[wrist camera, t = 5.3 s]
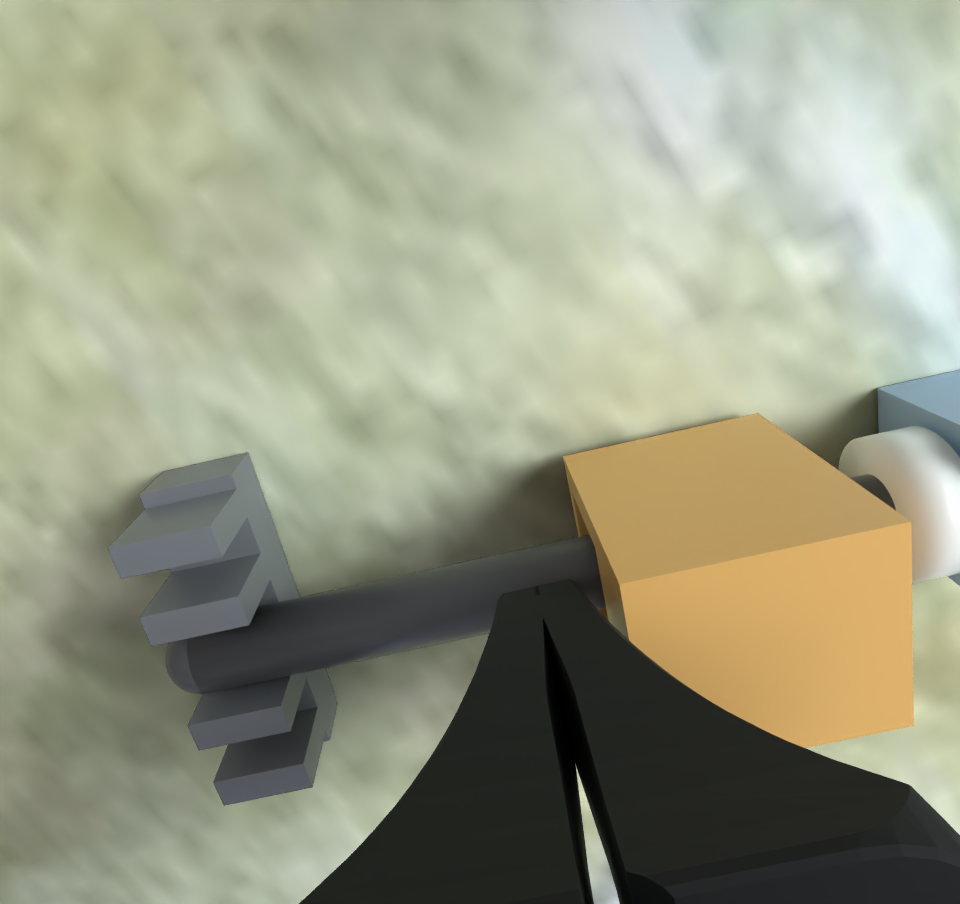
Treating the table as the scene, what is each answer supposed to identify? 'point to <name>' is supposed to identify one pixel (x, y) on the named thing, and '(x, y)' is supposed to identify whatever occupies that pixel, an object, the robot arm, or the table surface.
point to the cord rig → (415, 589)
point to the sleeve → (755, 576)
